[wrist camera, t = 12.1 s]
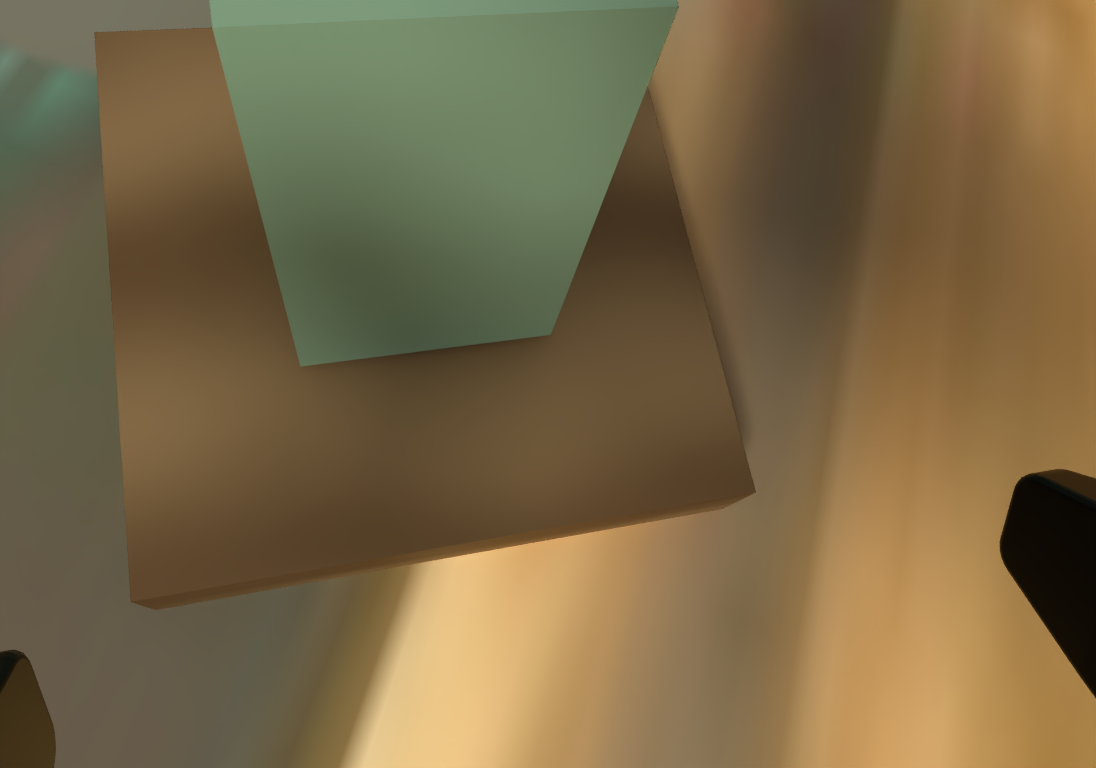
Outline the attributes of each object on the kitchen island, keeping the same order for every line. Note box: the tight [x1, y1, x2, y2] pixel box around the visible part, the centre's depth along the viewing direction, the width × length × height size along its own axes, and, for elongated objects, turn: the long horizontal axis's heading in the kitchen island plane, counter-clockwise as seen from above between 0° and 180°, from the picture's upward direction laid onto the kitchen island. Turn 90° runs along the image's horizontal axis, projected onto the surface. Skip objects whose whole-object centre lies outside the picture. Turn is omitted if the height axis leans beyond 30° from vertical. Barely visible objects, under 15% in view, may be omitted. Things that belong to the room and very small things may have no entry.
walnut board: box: [94, 28, 756, 610], centre depth 20 cm, size 12×12×2 cm
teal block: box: [209, 0, 679, 367], centre depth 14 cm, size 5×5×9 cm
